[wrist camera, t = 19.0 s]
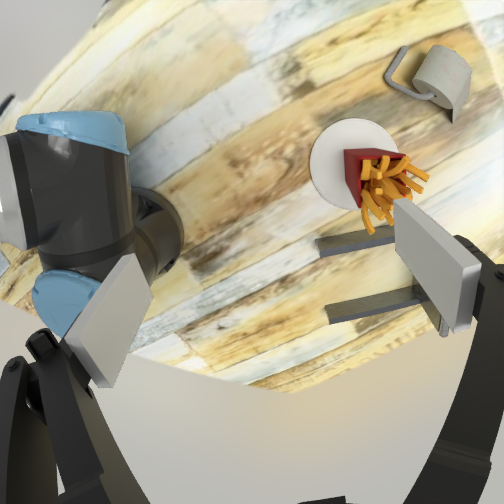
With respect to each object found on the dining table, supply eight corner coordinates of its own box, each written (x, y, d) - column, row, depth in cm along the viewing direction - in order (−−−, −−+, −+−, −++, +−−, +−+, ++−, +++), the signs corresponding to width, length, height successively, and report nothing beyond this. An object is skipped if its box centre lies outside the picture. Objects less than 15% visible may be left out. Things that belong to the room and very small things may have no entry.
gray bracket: (325, 310, 57) (339, 364, 45) (315, 239, 51) (331, 286, 39) (419, 289, 55) (449, 335, 43) (420, 218, 49) (461, 256, 36)
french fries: (336, 143, 43) (369, 164, 30) (389, 140, 43) (438, 161, 29) (339, 201, 47) (369, 244, 34) (390, 197, 46) (433, 237, 33)
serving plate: (317, 216, 49) (318, 218, 48) (300, 126, 43) (301, 126, 42) (401, 200, 47) (403, 202, 47) (391, 113, 41) (393, 113, 41)
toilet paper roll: (445, 135, 42) (445, 111, 32) (391, 101, 46) (376, 72, 36) (472, 88, 38) (476, 54, 28) (418, 57, 42) (408, 20, 32)
